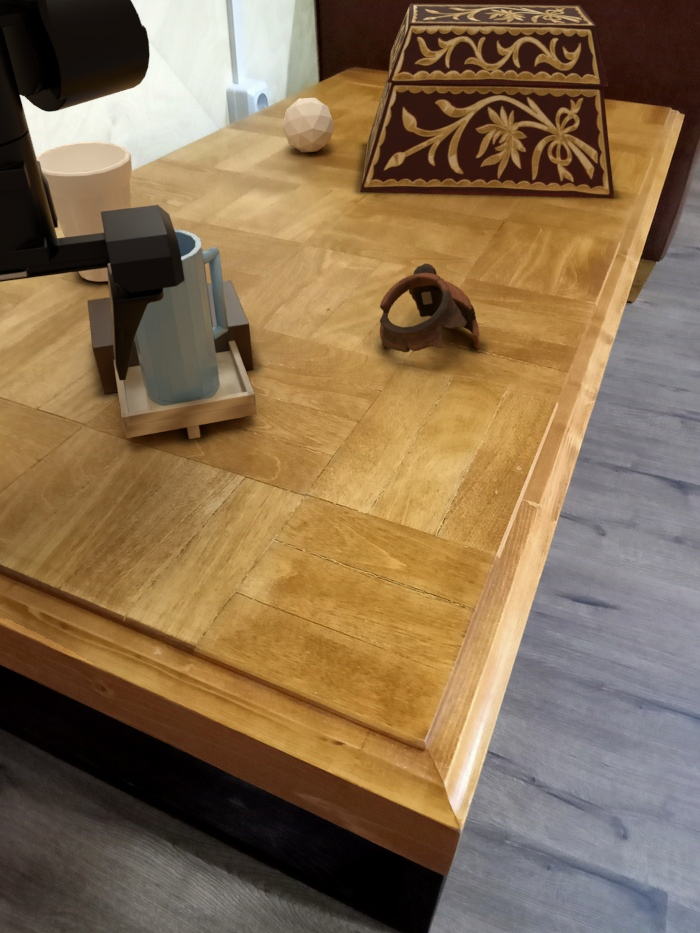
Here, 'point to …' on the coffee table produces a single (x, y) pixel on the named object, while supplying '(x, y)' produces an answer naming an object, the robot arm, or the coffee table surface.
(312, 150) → the geometric ball
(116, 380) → the walnut box
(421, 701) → the coffee table surface
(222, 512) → the coffee table surface
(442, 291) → the brown hollow shell
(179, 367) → the tall blue mug
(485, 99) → the decorative box
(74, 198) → the cup
